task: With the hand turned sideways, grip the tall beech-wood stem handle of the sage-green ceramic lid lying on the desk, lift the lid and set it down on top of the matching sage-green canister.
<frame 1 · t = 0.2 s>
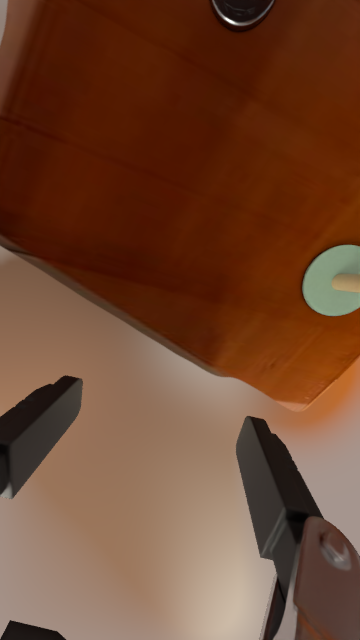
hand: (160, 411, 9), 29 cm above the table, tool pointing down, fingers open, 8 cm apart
lid: (338, 281, 34), point 1 cm above the table
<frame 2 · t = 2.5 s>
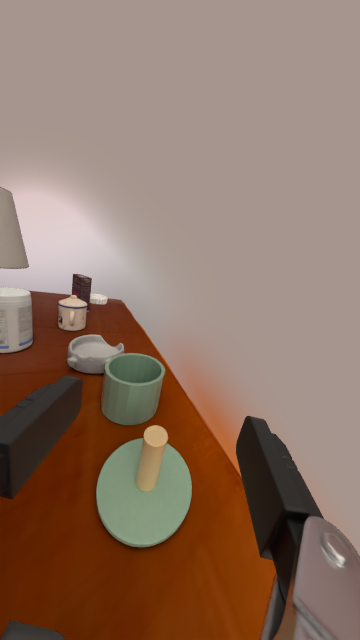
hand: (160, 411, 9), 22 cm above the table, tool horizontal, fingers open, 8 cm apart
mooncake: (95, 302, 108), on the table
lid: (146, 481, 26), point 1 cm above the table
canister: (130, 402, 39), on the table
dish: (95, 362, 51), on the table
teacup with lid: (71, 328, 68), on the table
supplement tub: (9, 346, 50), on the table
supplement box: (80, 310, 89), on the table
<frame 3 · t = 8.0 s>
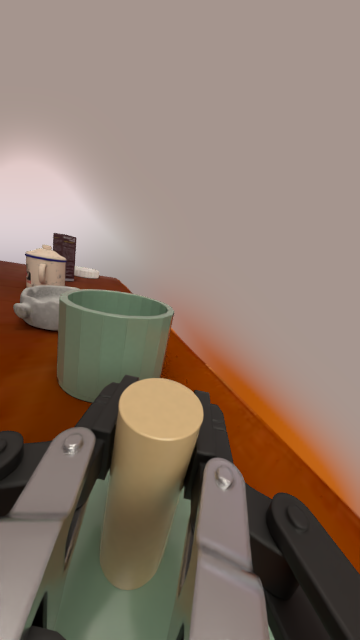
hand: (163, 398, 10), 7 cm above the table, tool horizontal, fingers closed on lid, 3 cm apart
mooncake: (85, 276, 92), on the table
lid: (132, 544, 9), point 1 cm above the table, touching gripper
canister: (113, 370, 23), on the table
dish: (67, 321, 34), on the table
teacup with lid: (45, 290, 52), on the table
supplement box: (63, 279, 73), on the table
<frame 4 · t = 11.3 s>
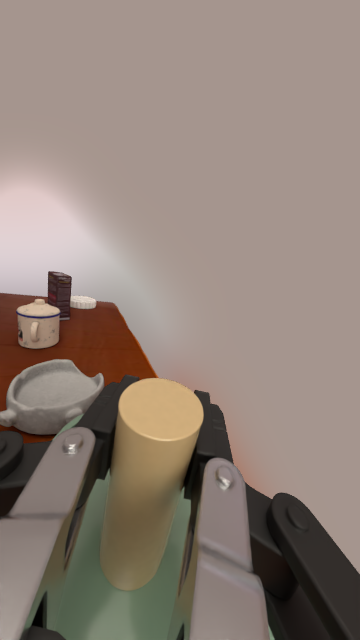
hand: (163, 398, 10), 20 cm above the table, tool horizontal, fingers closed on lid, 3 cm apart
mooncake: (81, 306, 90), on the table
lid: (132, 544, 9), point 14 cm above the table, touching gripper
dish: (58, 406, 32), on the table
teacup with lid: (38, 344, 50), on the table
supplement box: (58, 317, 71), on the table
when the fingers open (14 cm above the table, at t = 14.7 s): lid stays where it is, resting on canister.
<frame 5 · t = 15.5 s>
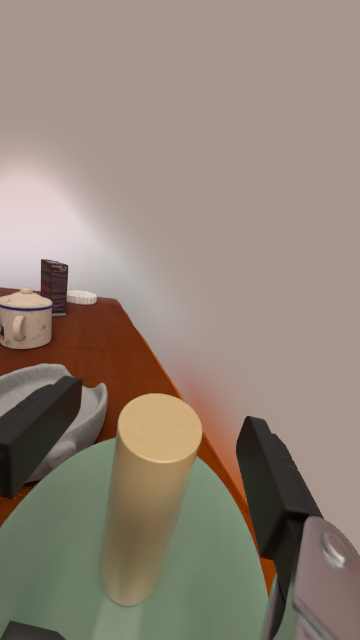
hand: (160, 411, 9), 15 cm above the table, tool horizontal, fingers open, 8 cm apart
mooncake: (80, 301, 80), on the table
lid: (132, 557, 9), point 8 cm above the table, touching canister
dish: (43, 431, 23), on the table
teacup with lid: (25, 344, 40), on the table
supplement box: (53, 312, 61), on the table
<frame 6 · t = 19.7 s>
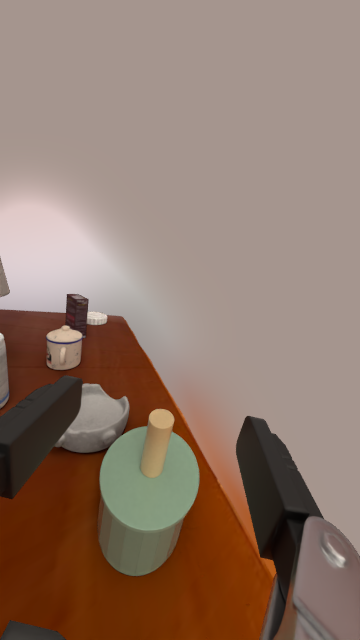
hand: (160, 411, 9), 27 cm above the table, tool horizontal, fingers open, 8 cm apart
mooncake: (94, 321, 96), on the table
lid: (151, 468, 24), point 8 cm above the table, touching canister
canister: (141, 512, 27), on the table
dish: (91, 426, 38), on the table
teacup with lid: (63, 365, 56), on the table
supplement box: (75, 335, 77), on the table
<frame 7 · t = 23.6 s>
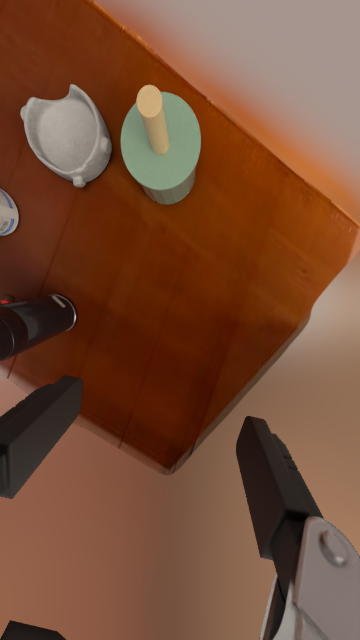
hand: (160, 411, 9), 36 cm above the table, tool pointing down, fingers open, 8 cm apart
toy figure: (13, 321, 49), on the table
lid: (160, 145, 29), point 8 cm above the table, touching canister
canister: (167, 172, 38), on the table
dish: (80, 148, 38), on the table
supplement tub: (1, 213, 42), on the table
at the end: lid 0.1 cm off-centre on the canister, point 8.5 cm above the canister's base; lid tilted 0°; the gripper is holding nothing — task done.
